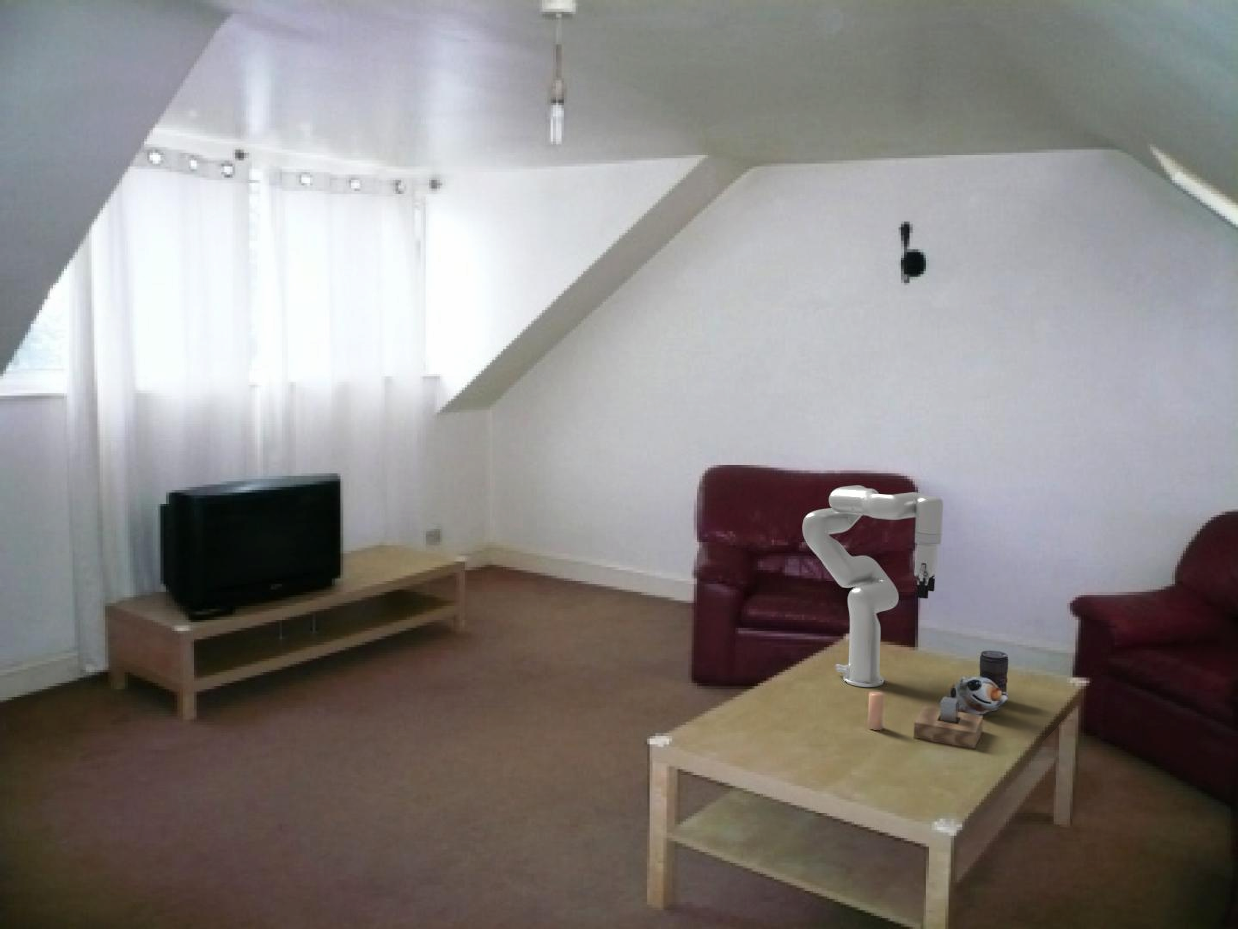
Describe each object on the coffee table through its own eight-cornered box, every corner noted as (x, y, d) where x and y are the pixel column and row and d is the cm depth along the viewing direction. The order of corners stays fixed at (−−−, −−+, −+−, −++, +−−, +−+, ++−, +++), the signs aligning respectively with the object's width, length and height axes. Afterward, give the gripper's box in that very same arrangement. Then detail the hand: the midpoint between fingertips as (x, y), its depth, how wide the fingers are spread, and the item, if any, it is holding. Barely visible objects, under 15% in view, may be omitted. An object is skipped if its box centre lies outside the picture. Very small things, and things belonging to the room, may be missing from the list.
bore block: (913, 738, 284) (914, 722, 283) (923, 721, 296) (924, 706, 296) (974, 749, 277) (975, 732, 276) (982, 731, 289) (982, 715, 288)
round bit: (866, 729, 290) (867, 694, 289) (870, 724, 293) (871, 690, 292) (880, 731, 288) (881, 697, 287) (884, 727, 291) (885, 693, 290)
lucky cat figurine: (1000, 705, 309) (1015, 673, 301) (994, 732, 300) (1010, 700, 292) (950, 685, 314) (964, 653, 306) (943, 712, 305) (957, 680, 296)
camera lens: (1002, 697, 316) (1004, 650, 314) (1009, 706, 308) (1011, 658, 306) (975, 696, 317) (977, 649, 315) (981, 705, 309) (983, 657, 307)
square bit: (939, 735, 286) (940, 701, 284) (942, 730, 289) (943, 696, 288) (954, 738, 284) (955, 703, 283) (956, 733, 287) (958, 699, 286)
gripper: (921, 532, 315) (918, 586, 317) (909, 542, 300) (906, 599, 302) (946, 534, 312) (943, 589, 314) (935, 544, 296) (932, 602, 299)
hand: (925, 594), depth 308 cm, fingers open, 9 cm apart
